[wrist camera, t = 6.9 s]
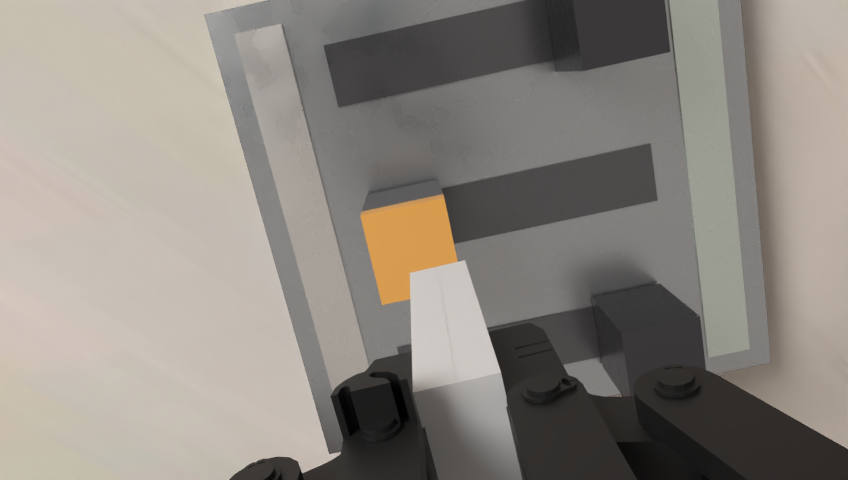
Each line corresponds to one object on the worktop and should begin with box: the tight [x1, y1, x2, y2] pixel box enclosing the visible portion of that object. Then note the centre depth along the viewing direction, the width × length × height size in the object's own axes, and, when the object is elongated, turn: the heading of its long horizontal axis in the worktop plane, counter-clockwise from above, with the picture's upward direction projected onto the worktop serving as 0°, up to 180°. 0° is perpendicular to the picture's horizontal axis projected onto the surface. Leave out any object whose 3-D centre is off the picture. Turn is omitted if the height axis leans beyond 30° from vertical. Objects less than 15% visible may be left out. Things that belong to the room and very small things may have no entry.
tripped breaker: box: [360, 179, 458, 305], centre depth 27 cm, size 4×3×4 cm
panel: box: [204, 0, 771, 454], centre depth 28 cm, size 21×22×6 cm
